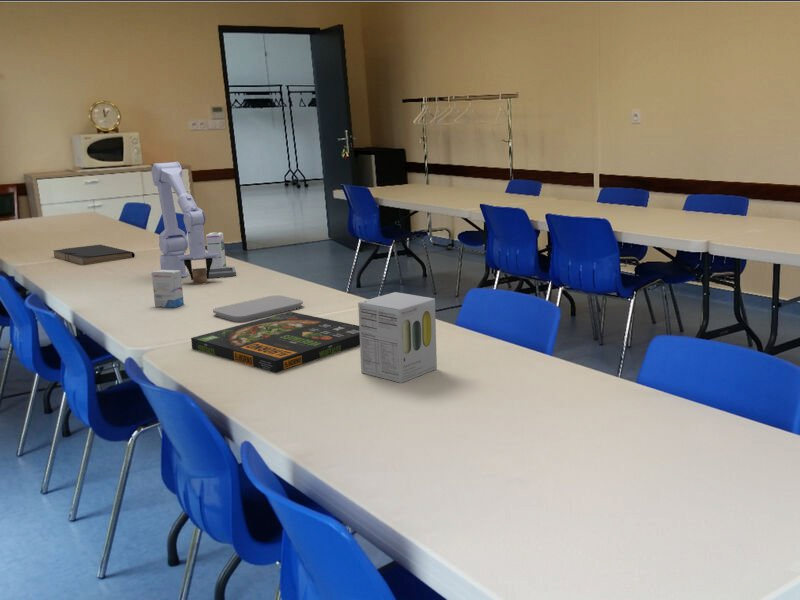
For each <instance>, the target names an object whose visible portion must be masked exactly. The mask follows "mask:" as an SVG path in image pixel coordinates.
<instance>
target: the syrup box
mask: <svg viewBox="0 0 800 600" xmlns="http://www.w3.org/2000/svg"><path fill="white" fill-rule="evenodd" d="M205 237H206V238H205V240H206V248H207V253H218V259H212V260H213V261H212V264H211V267H210V269H214V268H227V261H226V260H227V259H226V249H225V241H224V240H225V239H224V232H220V231H219V232H217V231H215V232H214V231H213V232H209V233H208V234H206V235H205Z"/></svg>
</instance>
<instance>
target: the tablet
mask: <svg viewBox="0 0 800 600" xmlns="http://www.w3.org/2000/svg"><path fill="white" fill-rule="evenodd" d="M303 303H304V302H303V300H301V299H298V298H293V297H289V296H285V295H269V296H265V297H264V296H263V297H259V298H255V299H250V300H247V301H242V302H236V303H233V304H228V305H224V306H219V307H215V308H213V309H212V313H214V314H215V316H216V317H217V316H219V317H218V318H221V317H222V318H221V319H224V318H225V319H224V320H228V319H229V320H228V321H231V320H232V322H235V321H237V322H236V323H242V322H243V321H244V322H248V320H249V321H253V320H256V318H257V319H261V318H264V316H265V317H268V316H267V315H270V316H272V315H271V314H274V315H276V314H275V313H278V314H281V313H280V312H282V313H285V312H284V311H286V312H289V311H288V310H290V311H293V310H292V309H294V310H296V309H295V308H298V309H300V308H299V307H301V308H302V305H303ZM260 317H261V318H260ZM252 319H253V320H252ZM244 322H243V323H244Z"/></svg>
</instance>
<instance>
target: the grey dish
mask: <svg viewBox="0 0 800 600" xmlns="http://www.w3.org/2000/svg"><path fill="white" fill-rule="evenodd" d="M206 273H207V269H206ZM233 276H236V277H237V272H236V267H235V266H231V267H229V266H228V267H227V266H226V267H225V268H214V269H210V271H209V278H211V279H220V278H219V277H224V278H234V277H233Z"/></svg>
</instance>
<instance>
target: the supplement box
mask: <svg viewBox="0 0 800 600" xmlns="http://www.w3.org/2000/svg"><path fill="white" fill-rule="evenodd" d="M357 304H358V306H357V307H358V326H359V332H360V345H359V347H360V348H359V353H360V372H361V373H362V374H366V375H369V376H373V377H378V378H381V379H385V380H388V381H392V382H396V383H399V384H402V383H405V382H407V381H410V380H413V379H414V378H415V379H416V378H417V377H419V376H422V375H425V374H428V373H430V372H433V371H435V370H437V368H438V364H437V363H438V362H437V328H436V327H437V323H436V322H437V321H436V298H434V297H428V296H421V295H415V294H410V293H403V292H397V291H394V292H390V293H386V294H384V295H379V296H375V297H373V298H369V299H366V300H365V299H364V300H362V301H359V302H357Z"/></svg>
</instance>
